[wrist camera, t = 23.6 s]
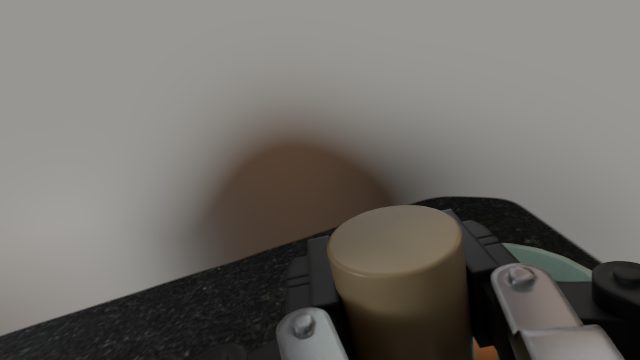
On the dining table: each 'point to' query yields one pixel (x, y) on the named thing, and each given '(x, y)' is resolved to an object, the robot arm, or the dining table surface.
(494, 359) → the bead
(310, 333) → the robot arm
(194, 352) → the dining table surface
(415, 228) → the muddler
